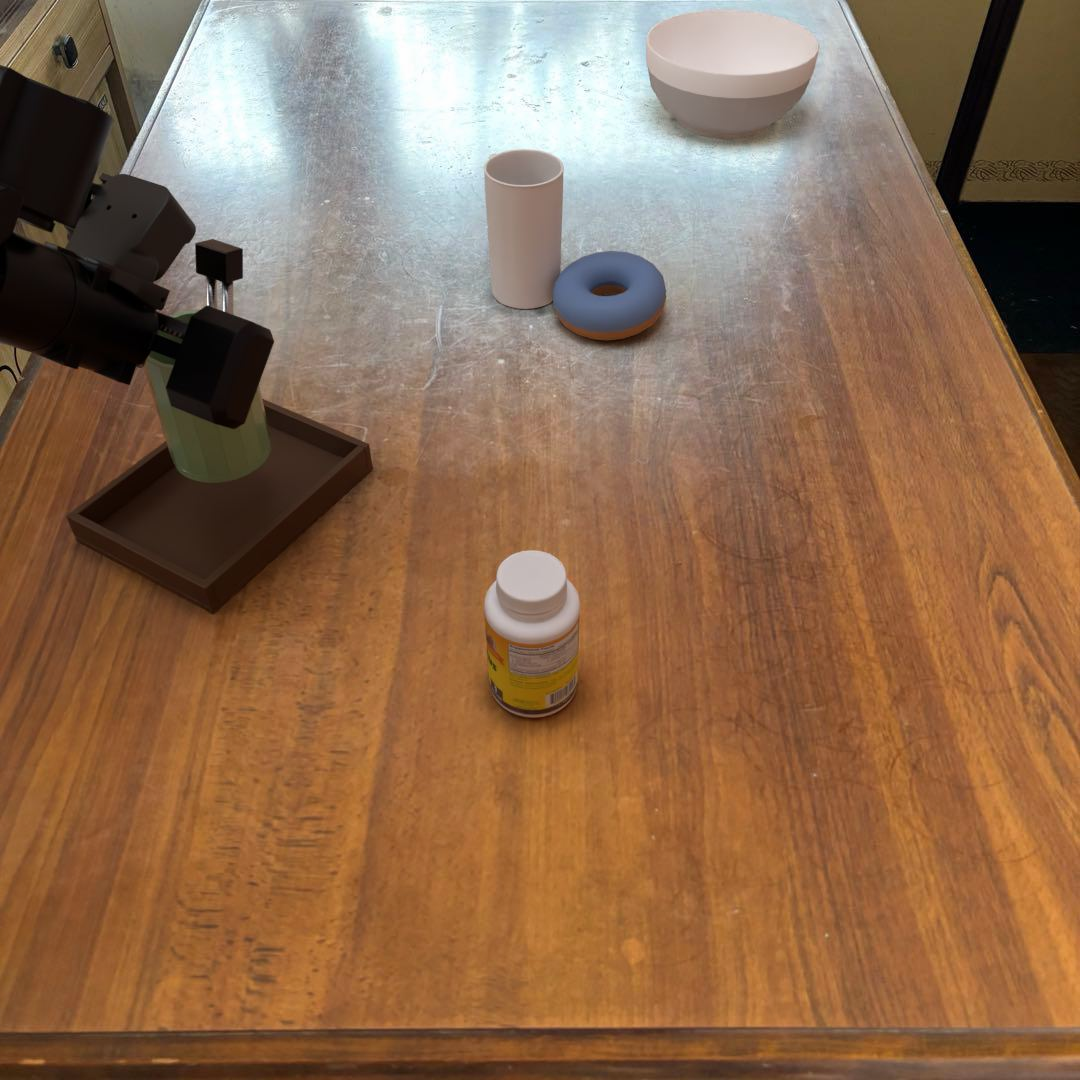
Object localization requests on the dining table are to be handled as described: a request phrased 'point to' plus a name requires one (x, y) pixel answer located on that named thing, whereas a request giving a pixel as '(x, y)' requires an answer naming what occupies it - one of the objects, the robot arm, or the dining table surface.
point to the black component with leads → (219, 270)
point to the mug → (524, 225)
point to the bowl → (729, 69)
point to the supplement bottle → (532, 635)
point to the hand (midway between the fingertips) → (216, 364)
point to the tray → (221, 510)
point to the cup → (206, 429)
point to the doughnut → (609, 314)
